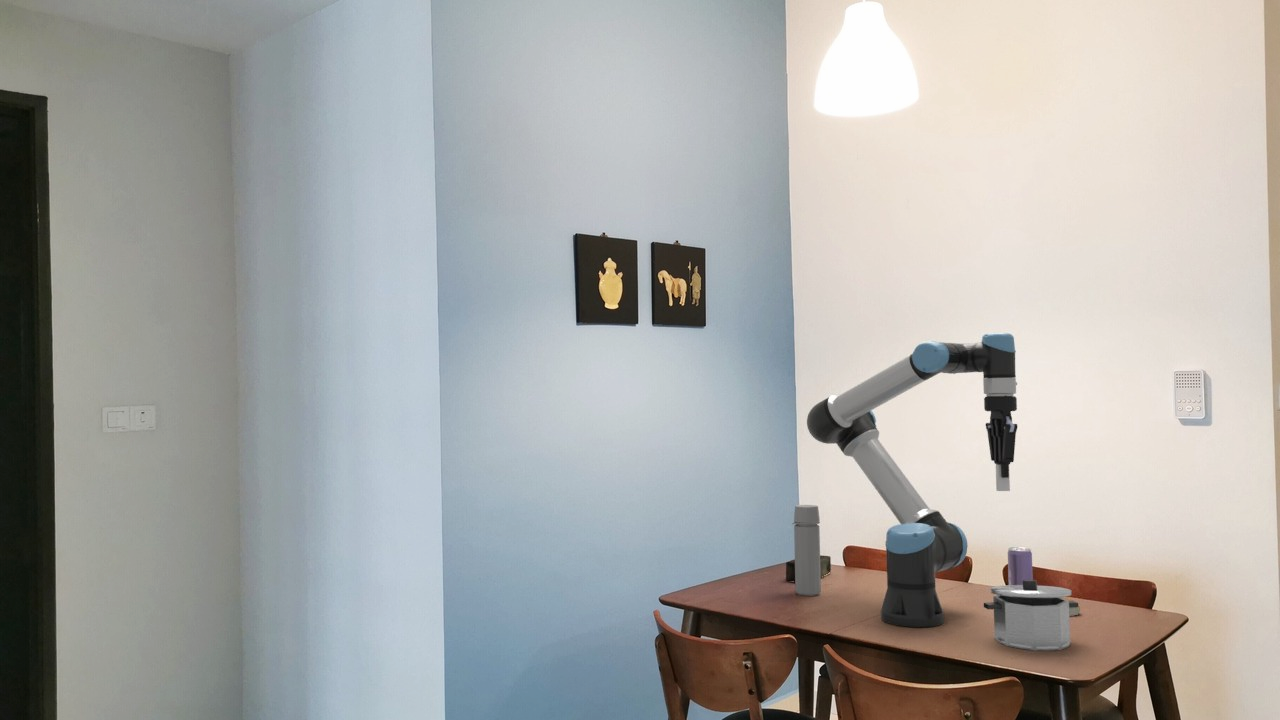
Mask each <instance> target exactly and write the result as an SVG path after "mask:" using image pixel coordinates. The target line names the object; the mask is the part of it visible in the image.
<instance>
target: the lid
mask: <svg viewBox="0 0 1280 720" xmlns="http://www.w3.org/2000/svg"><path fill="white" fill-rule="evenodd" d="M1022 582H1023V585H1009V584H1008V585H1006V584H1005V585H996V586H992V587H990V588H989V589H990V590H989V591H990V593H991V594H994V595H995V596H996V595H1002V596H1010V597H1023V598H1058V597H1061V598H1064V597H1065V598H1067V597H1070V596H1072V590H1071V589H1069V588H1066V587H1058V586H1052V585H1051V586H1050V585H1039V584H1038V582H1037V580H1036V579H1033V580H1022Z"/></svg>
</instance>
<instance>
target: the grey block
mask: <svg viewBox="0 0 1280 720" xmlns="http://www.w3.org/2000/svg"><path fill="white" fill-rule="evenodd" d="M1064 599H1065V600H1068V601H1073V600H1071V599H1069V598H1064ZM1080 611H1081V608H1080V606H1079V605H1078V607H1074V608H1069V617H1075V616H1074V615H1077V616H1078V615H1079V614H1080Z"/></svg>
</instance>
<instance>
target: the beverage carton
mask: <svg viewBox="0 0 1280 720" xmlns="http://www.w3.org/2000/svg"><path fill="white" fill-rule="evenodd" d="M831 564H832V563H831V556H830V555H821V554H820V575H821V577H822V576H824V575H826V574H828V573H829V572H830V573H831V570H832V569H831V567H832V565H831ZM787 581H794V582H795V558H794V559H791V560H788V561H787V562H785V582H787ZM794 582H793V583H794Z"/></svg>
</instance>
